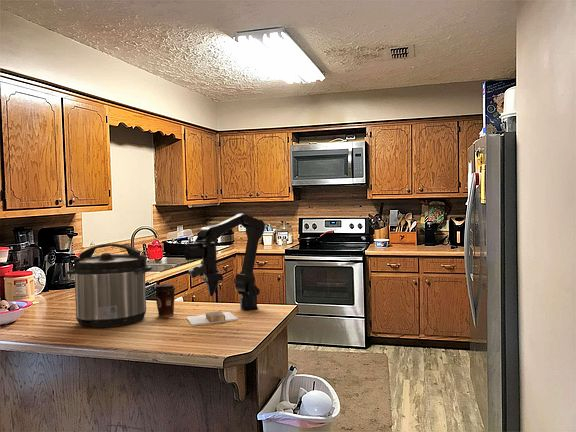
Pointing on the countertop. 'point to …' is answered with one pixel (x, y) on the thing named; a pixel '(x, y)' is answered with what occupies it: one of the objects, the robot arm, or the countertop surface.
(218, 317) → the walnut slab
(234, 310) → the countertop surface
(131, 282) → the pressure cooker
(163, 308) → the coffee cup
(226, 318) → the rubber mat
